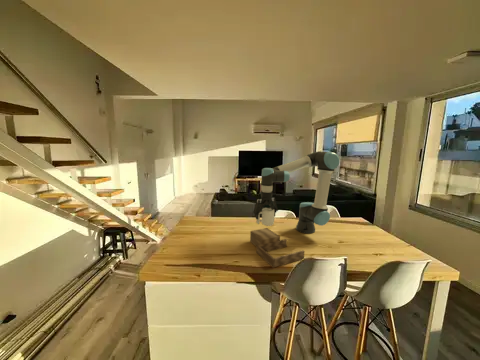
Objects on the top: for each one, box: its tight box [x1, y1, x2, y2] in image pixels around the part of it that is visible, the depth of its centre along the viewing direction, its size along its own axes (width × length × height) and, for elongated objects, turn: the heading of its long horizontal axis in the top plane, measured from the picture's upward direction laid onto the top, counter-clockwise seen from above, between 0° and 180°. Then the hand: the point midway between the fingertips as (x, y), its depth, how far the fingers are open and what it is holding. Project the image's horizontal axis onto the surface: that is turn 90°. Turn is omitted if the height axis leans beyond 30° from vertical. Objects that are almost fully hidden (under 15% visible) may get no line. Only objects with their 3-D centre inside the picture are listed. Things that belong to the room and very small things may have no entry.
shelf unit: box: [249, 227, 306, 268], centre depth 143 cm, size 23×34×8 cm
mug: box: [259, 207, 275, 227], centre depth 148 cm, size 12×8×10 cm
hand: (265, 222), depth 149 cm, fingers closed on mug, 11 cm apart
